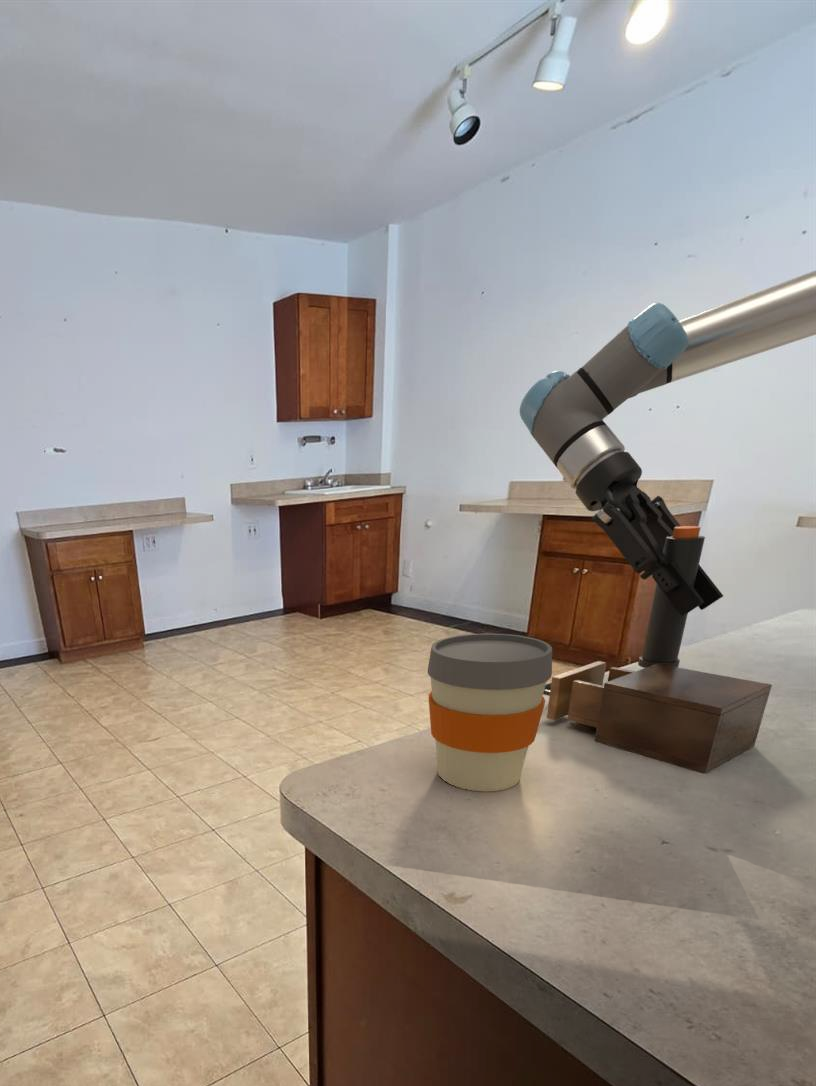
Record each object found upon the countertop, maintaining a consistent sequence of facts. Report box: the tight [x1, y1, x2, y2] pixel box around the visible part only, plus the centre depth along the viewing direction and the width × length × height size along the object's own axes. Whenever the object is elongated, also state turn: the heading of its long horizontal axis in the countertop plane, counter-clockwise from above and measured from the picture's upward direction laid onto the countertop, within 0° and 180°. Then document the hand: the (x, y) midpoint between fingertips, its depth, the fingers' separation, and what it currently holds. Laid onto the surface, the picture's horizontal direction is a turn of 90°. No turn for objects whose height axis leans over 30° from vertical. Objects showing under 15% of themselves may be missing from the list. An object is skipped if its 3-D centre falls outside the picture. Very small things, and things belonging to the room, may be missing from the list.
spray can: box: [637, 525, 706, 669], centre depth 85 cm, size 5×5×18 cm
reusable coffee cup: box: [426, 633, 553, 792], centre depth 71 cm, size 13×13×15 cm
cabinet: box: [594, 664, 773, 774], centre depth 76 cm, size 13×12×8 cm
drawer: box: [543, 660, 637, 729], centre depth 84 cm, size 15×10×6 cm
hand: (702, 605), depth 82 cm, fingers closed on spray can, 4 cm apart
